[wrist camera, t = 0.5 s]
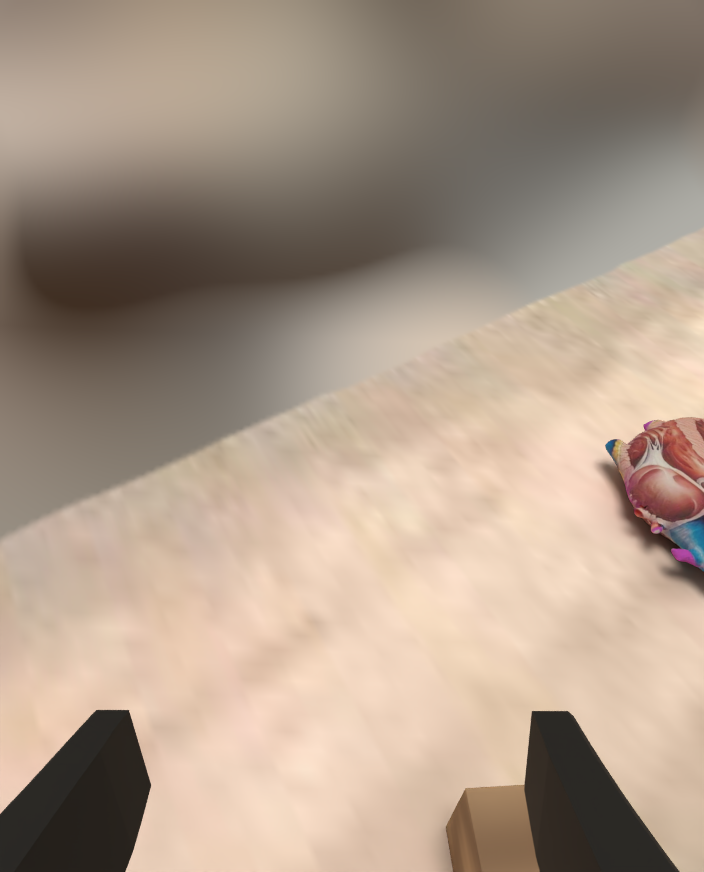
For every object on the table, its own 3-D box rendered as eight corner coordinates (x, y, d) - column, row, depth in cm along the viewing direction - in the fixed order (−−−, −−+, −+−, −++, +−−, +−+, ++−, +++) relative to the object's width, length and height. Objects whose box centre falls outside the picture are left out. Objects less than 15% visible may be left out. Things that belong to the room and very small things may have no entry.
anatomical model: (568, 464, 46) (684, 601, 33) (594, 400, 44) (731, 522, 31) (686, 474, 48) (839, 607, 35) (717, 413, 46) (895, 533, 33)
